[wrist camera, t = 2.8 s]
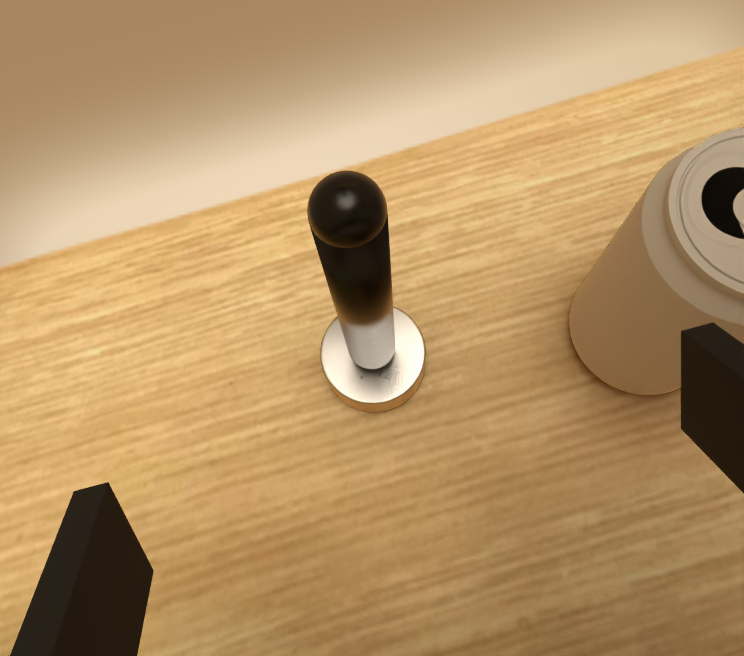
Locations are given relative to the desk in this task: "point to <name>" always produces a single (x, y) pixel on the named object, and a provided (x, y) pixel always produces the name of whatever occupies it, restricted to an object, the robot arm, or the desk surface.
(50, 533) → the desk surface
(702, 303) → the beverage can
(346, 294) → the rod on base
